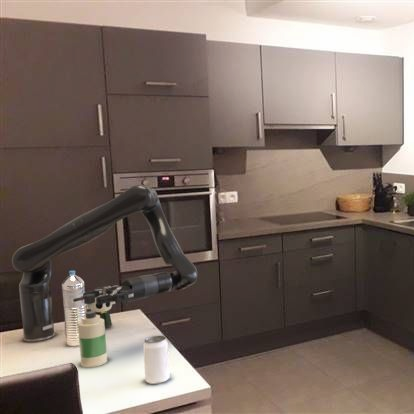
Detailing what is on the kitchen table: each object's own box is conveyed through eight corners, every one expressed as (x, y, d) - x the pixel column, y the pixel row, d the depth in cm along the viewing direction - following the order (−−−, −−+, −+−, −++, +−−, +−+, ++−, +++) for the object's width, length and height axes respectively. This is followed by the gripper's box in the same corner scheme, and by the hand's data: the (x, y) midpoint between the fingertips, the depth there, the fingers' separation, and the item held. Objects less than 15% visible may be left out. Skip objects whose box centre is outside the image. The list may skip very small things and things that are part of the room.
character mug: (90, 333, 195) (87, 298, 193) (83, 328, 200) (80, 294, 198) (121, 326, 202) (119, 292, 201) (114, 321, 207) (112, 288, 206)
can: (149, 375, 158) (147, 335, 157) (172, 374, 159) (170, 334, 157) (142, 385, 152) (139, 343, 150) (166, 383, 152) (163, 342, 151)
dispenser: (100, 356, 173) (96, 307, 171) (111, 361, 169) (108, 311, 167) (76, 363, 168) (72, 313, 166) (87, 369, 163) (83, 317, 161)
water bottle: (79, 347, 181) (73, 273, 178) (61, 346, 183) (55, 273, 180) (93, 340, 188) (88, 269, 185) (76, 339, 189) (70, 268, 186)
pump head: (92, 305, 168) (91, 293, 168) (97, 307, 166) (96, 294, 166) (71, 310, 163) (70, 297, 163) (76, 312, 161) (75, 299, 161)
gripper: (128, 273, 183) (78, 283, 170) (151, 279, 174) (100, 290, 161) (129, 295, 183) (80, 306, 171) (152, 302, 175) (102, 315, 162)
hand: (90, 298), depth 166 cm, fingers open, 8 cm apart
